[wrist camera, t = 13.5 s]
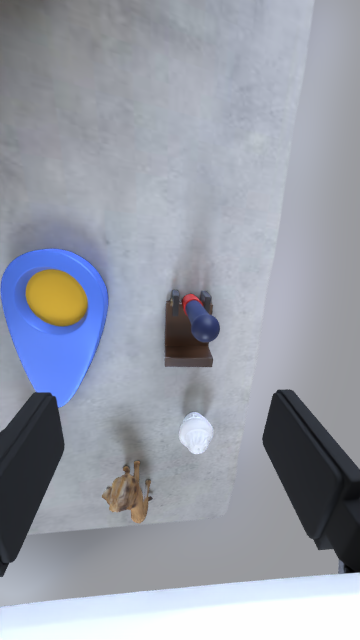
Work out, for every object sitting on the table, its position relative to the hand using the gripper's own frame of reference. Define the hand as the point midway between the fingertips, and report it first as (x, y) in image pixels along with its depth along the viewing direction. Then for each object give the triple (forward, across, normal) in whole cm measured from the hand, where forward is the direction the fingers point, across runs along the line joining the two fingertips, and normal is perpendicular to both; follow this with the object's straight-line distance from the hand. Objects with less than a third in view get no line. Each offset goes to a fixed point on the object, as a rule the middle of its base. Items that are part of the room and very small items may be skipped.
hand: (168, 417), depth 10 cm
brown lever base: (+25, -4, +5) cm, 26 cm away
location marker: (+26, +15, +8) cm, 31 cm away
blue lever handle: (+17, -4, 0) cm, 18 cm away
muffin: (+25, -6, +25) cm, 36 cm away
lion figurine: (+26, +5, +40) cm, 48 cm away
